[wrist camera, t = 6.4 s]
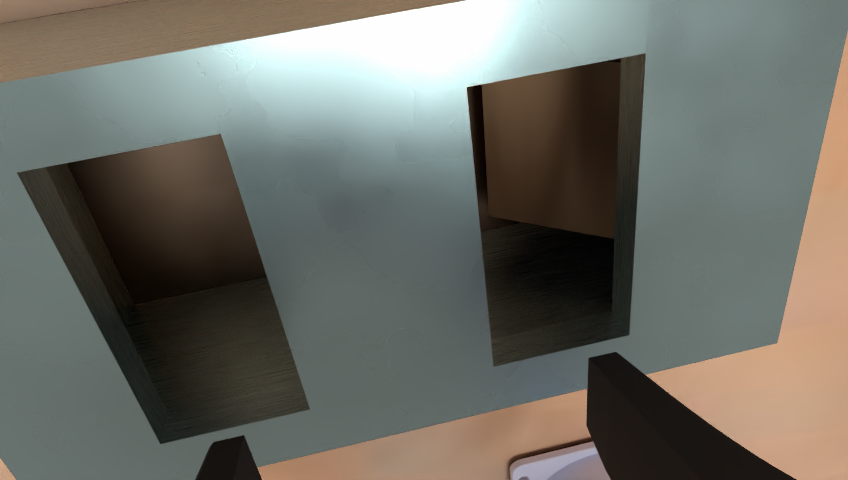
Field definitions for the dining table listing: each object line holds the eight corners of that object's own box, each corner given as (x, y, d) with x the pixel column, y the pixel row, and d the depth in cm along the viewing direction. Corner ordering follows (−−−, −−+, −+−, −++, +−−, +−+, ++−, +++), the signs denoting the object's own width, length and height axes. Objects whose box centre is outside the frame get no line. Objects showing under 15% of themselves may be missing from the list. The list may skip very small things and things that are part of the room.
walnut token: (513, 187, 21) (670, 212, 18) (488, 216, 19) (654, 246, 17) (509, 36, 18) (690, 42, 16) (480, 55, 17) (674, 65, 14)
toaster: (648, 219, 22) (777, 343, 16) (115, 334, 21) (45, 517, 15) (670, -89, 17) (870, -71, 11) (-41, 30, 15) (-246, 126, 10)
